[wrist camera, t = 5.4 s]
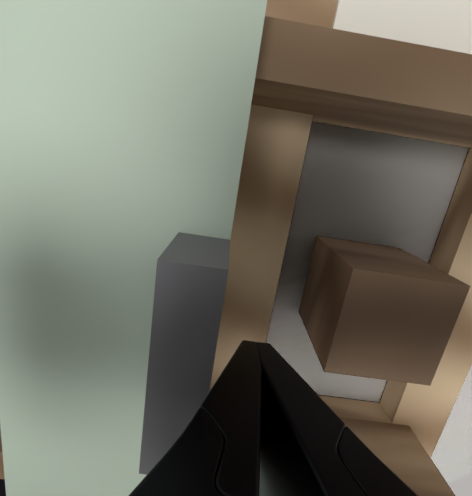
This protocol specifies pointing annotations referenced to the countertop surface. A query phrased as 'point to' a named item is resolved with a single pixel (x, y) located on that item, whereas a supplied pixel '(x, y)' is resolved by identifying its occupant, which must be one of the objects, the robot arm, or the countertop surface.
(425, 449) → the puzzle board
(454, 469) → the countertop surface
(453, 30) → the cream pad
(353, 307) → the walnut block
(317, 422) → the robot arm
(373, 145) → the countertop surface
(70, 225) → the sliding cover
